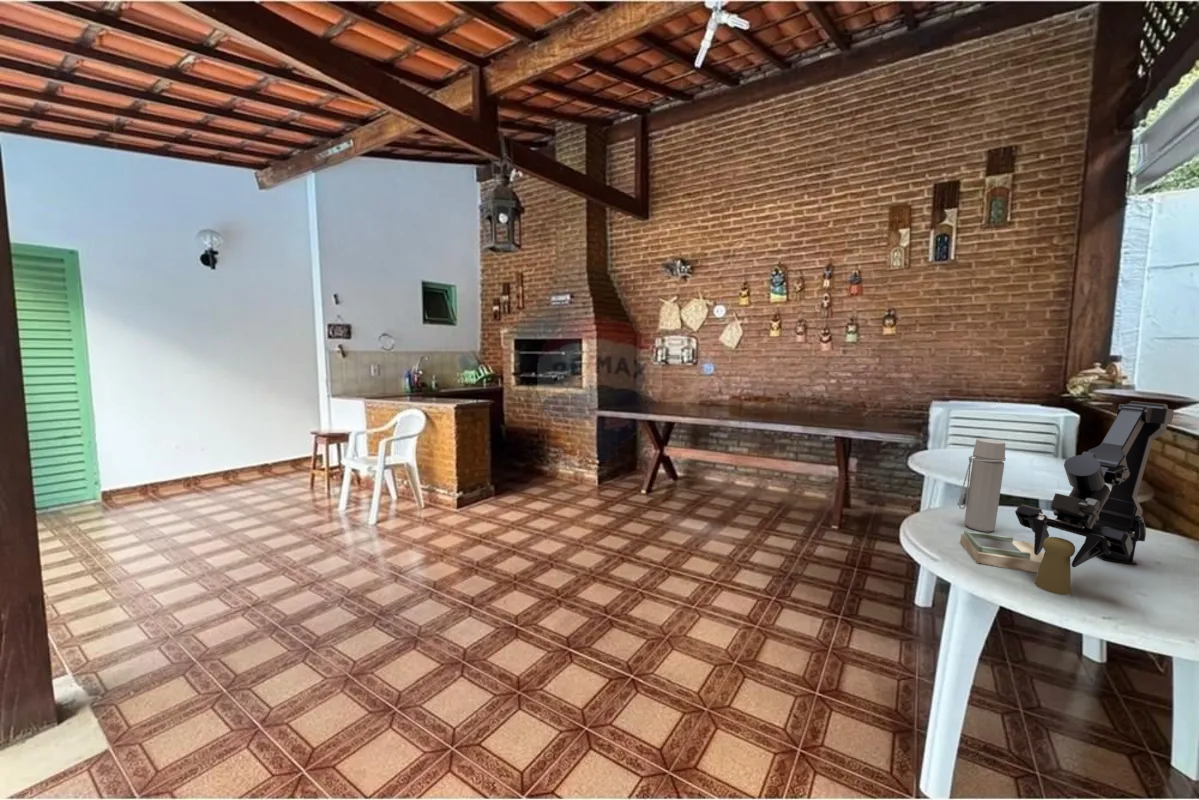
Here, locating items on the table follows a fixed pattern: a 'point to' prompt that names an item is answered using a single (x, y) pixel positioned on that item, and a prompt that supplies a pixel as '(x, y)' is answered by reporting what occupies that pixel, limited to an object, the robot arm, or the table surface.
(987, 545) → the dock
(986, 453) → the water bottle
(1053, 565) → the cork
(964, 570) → the table surface
